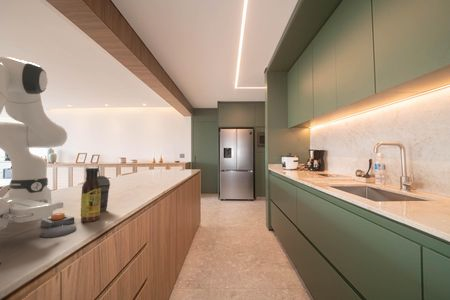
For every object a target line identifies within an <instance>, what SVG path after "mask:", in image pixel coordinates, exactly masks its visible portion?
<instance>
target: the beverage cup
mask: <svg viewBox="0 0 450 300" xmlns="http://www.w3.org/2000/svg"><path fill="white" fill-rule="evenodd" d="M97 168H98V182H99V185H100V188H101V201H100V214H103V213H105V212H107V207H108V203H109V201H108V200H109V193H110V192H109V190H110V186H111V183H110V180H109V178H108V177H107V176H105V175H100V174H101V172H100V165H97Z"/></svg>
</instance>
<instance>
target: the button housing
mask: <svg viewBox="0 0 450 300" xmlns="http://www.w3.org/2000/svg"><path fill="white" fill-rule="evenodd" d="M74 223H75V217H74V216H71V215H68V214H67V215H66V214H65V219H61V220H57V221H51V217H48V218H43V219H40V226H41V227H43V228H47V227H48V228H47V229H50V228H53V227H58V226H62V225H63V226H65V225H70V224H74Z"/></svg>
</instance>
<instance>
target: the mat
mask: <svg viewBox="0 0 450 300" xmlns="http://www.w3.org/2000/svg"><path fill="white" fill-rule="evenodd" d="M76 230H77V227H76V225H70V224H67V225H63V226H58V227H53V228H47V229H45V230H42V231H41V232H40V233H39V235H40V237H41V238H44V239H47V238H51V239H52V238H57V237H58V238H59V237H62V236H67V235H68V234H71V233H74V232H75V231H76Z"/></svg>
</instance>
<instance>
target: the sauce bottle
mask: <svg viewBox="0 0 450 300" xmlns="http://www.w3.org/2000/svg"><path fill="white" fill-rule="evenodd" d="M85 173H86V176H85V181H84V183H83V184H82V186H81V199H80V201H81V202H80V221H81V222H83V223H89V222H95V221H97V220H99V219H100V217H101V213H100V201H101V188H100V185H99V182H98V176H99V175H98V167H87V168H86V169H85Z"/></svg>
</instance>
